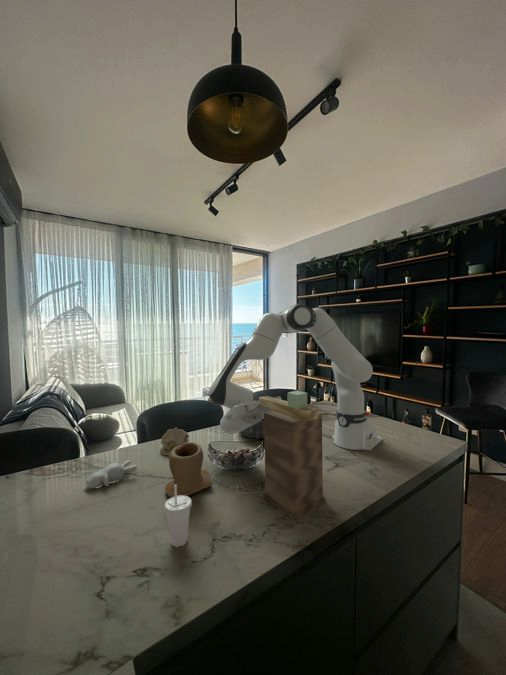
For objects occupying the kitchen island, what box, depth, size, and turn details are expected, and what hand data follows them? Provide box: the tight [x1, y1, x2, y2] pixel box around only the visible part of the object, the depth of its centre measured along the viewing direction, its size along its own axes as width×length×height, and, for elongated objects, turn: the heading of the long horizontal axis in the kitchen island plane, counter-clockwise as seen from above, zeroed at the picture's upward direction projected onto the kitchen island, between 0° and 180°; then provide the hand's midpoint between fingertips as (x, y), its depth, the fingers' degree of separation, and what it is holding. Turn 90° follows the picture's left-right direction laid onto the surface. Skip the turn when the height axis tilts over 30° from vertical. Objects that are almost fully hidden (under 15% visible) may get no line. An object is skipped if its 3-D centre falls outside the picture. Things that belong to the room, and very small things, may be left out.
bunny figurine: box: [85, 459, 138, 489], centre depth 101 cm, size 10×5×15 cm
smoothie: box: [164, 485, 193, 548], centre depth 71 cm, size 6×6×14 cm
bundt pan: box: [239, 419, 265, 440], centre depth 144 cm, size 26×26×10 cm
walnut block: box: [262, 410, 326, 520], centre depth 88 cm, size 13×13×26 cm
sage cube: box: [286, 390, 308, 409], centre depth 85 cm, size 4×4×4 cm
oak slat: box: [258, 395, 319, 421], centre depth 89 cm, size 4×22×2 cm, turn 37°
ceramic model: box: [159, 426, 190, 457], centre depth 125 cm, size 14×11×10 cm
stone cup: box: [164, 441, 213, 498], centre depth 94 cm, size 15×12×15 cm
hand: (269, 400), depth 96 cm, fingers open, 7 cm apart
